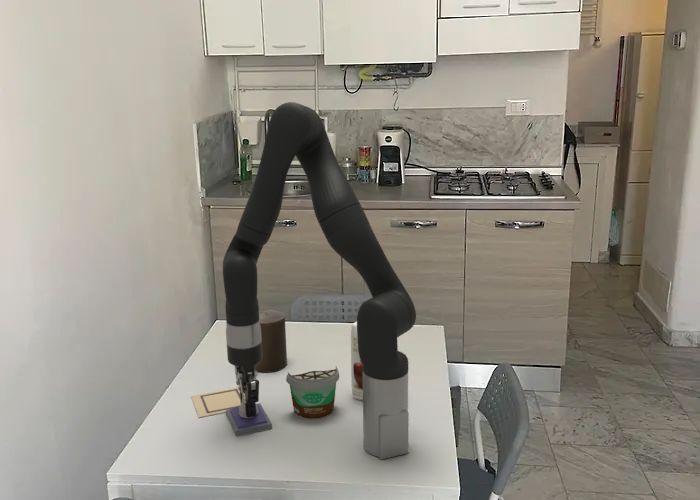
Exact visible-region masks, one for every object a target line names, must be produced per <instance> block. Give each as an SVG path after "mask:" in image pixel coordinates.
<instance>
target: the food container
mask: <svg viewBox="0 0 700 500" xmlns="http://www.w3.org/2000/svg"><path fill="white" fill-rule="evenodd" d="M339 380H340V372H339V369H338V367H337V365H336V366H335V369H330V370H312V371H307V372H304V373H299V374H292V375H291V374H290V372H289V371H288V372H287V374H286V378H285V381H286V383H288V384H289V389H290V394H291V395H290V397H291V401H292V409H293V412H294V414H295V415H296V416H298V417H300V418H303V419H307V420H319V419H323V418H326V417H328V416H330V415H331V414H333V412H334V410H335V399H336V391H337V390H336V389H337V387H336V386H337V382H338V381H339Z"/></svg>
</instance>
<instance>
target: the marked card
mask: <svg viewBox="0 0 700 500" xmlns="http://www.w3.org/2000/svg"><path fill="white" fill-rule="evenodd" d="M190 397H191V399H192V403H193V405H194V408H195V411H196V413H197V416H198V418H199V419H200V418H201V419H202V418H205V417H206V418H207V417H211V416H215V415H216V416H217V415H221V414H226V410H229V409H232V408H237V407H240V404H241V402H240V391H239V390H238V386H237V387H231V388H227V389H222V390H216V391H210V392H206V393H205V392H203V393H200V394H193V395H191V396H190Z"/></svg>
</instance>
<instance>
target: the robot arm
mask: <svg viewBox="0 0 700 500" xmlns="http://www.w3.org/2000/svg"><path fill="white" fill-rule="evenodd" d="M327 133H328V132H327V131H326V127H325V125H324V122H323V120H322V118H321V117H320V115H319V114H318V113H317V112H316V110H314V109H313V108H311V107H308V106H307V105H303V104H301V103H297V102H292V101H291V102H285V103H282V104H280V105H279V106H277V107H276V109H274V111H272V114H271V116H270V119H269V123H268V125H267V131H266V136H265V139H264V140H265V141H264V144H263V149H262V154H261V158H260V162H259V164H258V169H257V173H256V176H255V179H254V182H253V186H252V189H251V190H250V194H249V196H248V199H247V202H246V204H245V207H244V210H243V211H242V215H241V217H240V219H239V222H238V226H237V229H236V232H235V234H234V236H233V237H232V239H231V241H230V244H229V245H228V247H227V250H226V252H225V254H224V257H223V260H222V278H223V286H224V288H223V289H224V295H225V306H224V307H225V318H226V319H225V322H226V324H225V325H226V328H225V338H226V341H225V342H226V352H227V353H226V354H227V363H229V364H230V365H232V366H234V373H235V383H236V385H237V387H238V390H239V391H240V402H242V393H241V391H242V392H243V393H244V401H245V411H246V416H247V417H248V418H249V417H254V416H256V404H257V403H259V401H260V400H259V399H260V381H259V379H257V378H258V371H257V370H256V369H254V365H255V364H257V363H259V362H260V361H261V360H262V357H263V356H262V338H261V326H260V321H259V311H260V309H259V308H260V307H259V301H258V267H257V263H258V260H259V257H260V255H261V252H262V251H263V248H264V246H265V245H266V244H267V243H268V242H269V240H270V238H271V236H272V233H273V231H274V229H275V227H276V224H277V221H278V219H279V215H280V212H281V210H282V205H283V204H282V203H283V197H284V192H285V184H286V179H287V176H288V173H289V170H290V167H291V165H292V163H293V161H294V159H295V157H296V158H297V161H298V162H299V164H300V166H301V168H302V170H303V172H304V174H305V177H306V179H307V182H308V185H309V191H310V196H311V197H310V198H311V202H312V208H313V212H314V215H315V217H316V220H317V222H318V224H319V227H320V228H321V231H322V233H323V235H324V237H325V239H326V240H327V243H328V244H329V246H330V247H331V248H332V249H333V250H334V251H335V252H336V254H338V256H340V257H341V258H342V259H343V260H344V261H346V263H348V264H349V265H350V266H352V268H354V269H355V271H357V273H358V274H359V275H360V276H361V277H362V279H363V280H364V282H365V284H366V286H367V288H368V290H369V292H370V294H371V296H372V297H371V298H369V299H367V300H365V301H364V302H363V303H361V305H360V306H359V308H358V311H357V316H356V321H357V337H358V352H359V357H360V360H361V362H362V364H363V400H362V416H363V417H362V423H363V425H362V428H363V429H362V431H363V435H362V437H363V441H362V442H363V449H364V450H365V451H366V452H367V453H368V454H371V455H372V456H376V457H378V459H380V460H386V459H389V458H394V457H398V456H402V455H406V454H408V453H409V425H410V424H409V421H410V419H409V418H410V417H409V414H410V413H409V358H408V357H407V354H405V353H404V352H403V351H400V350H398V349H399V348H398V338H399V337H401V336H403V335H404V334H405V333H407V332H408V331H411V329H412V328H413V327H414V325H415V323H416V319H417V312H416V306H415V305H414V302H413V300H412V298H411V296H410V294H409V293H408V290H407V289H406V288H405V286H404V284H403V283H402V281H401V280H400V278H399V276H398V275H397V273H396V272H395V269H394V268H393V267H392V265H391V264H390V261H389V260H388V258H387V256H386V254H385V252H384V250H383V248H382V246H381V244H380V243H379V240H378V238H377V236H376V234H375V232H374V231H373V228H372V226H371V224H370V221H369V219H368V217H367V215H366V213H365V211H364V209H363V207H362V206H363V205H362V204H361V202H360V200H359V199H358V197H357V195H356V193H355V191H354V189H353V187H352V185H351V183H350V182H349V180H348V178H347V176H346V174H345V173H344V171H343V169H342V167H341V165H340V164H339V162H338V160H337V157H336V155H335V153H334V150H333V147H332V144H331V141H330V138H329V136H328V134H327ZM240 385H241V388H240ZM244 386H246V388H244Z"/></svg>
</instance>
